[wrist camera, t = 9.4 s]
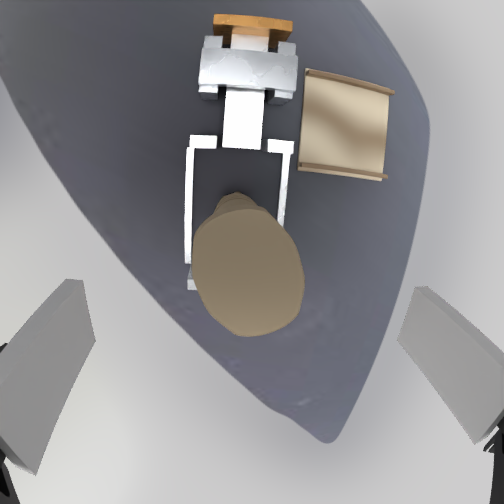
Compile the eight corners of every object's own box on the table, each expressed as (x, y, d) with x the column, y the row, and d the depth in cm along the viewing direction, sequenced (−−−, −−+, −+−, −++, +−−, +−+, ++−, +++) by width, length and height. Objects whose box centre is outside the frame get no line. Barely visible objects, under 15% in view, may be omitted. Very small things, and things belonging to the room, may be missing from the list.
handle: (249, 167, 26) (281, 194, 12) (269, 231, 28) (315, 317, 14) (198, 184, 26) (172, 232, 12) (222, 247, 28) (224, 346, 14)
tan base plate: (304, 69, 23) (309, 65, 21) (387, 88, 24) (394, 87, 23) (296, 169, 26) (301, 171, 25) (379, 180, 27) (386, 182, 26)
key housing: (207, 50, 21) (204, 31, 17) (285, 56, 22) (299, 40, 18) (202, 99, 23) (197, 89, 19) (282, 105, 24) (295, 97, 19)
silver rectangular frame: (188, 136, 24) (182, 135, 21) (289, 142, 25) (301, 142, 22) (185, 270, 29) (181, 289, 25) (276, 273, 30) (284, 291, 26)
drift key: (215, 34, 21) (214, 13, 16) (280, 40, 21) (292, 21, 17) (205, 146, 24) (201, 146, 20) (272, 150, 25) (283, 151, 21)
